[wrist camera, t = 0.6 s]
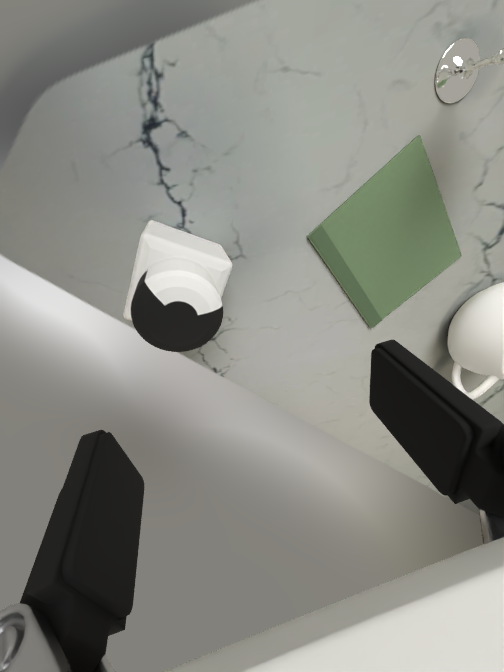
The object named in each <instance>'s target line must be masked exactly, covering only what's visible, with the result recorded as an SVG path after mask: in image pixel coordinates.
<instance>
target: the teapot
mask: <svg viewBox="0 0 504 672" xmlns="http://www.w3.org/2000/svg"><path fill="white" fill-rule="evenodd" d="M448 349H449V353H450V355H451V357H452V358H453V360H454V361H455V362H454V366H453V370H452V383H453V385H454V386H455V387H456V388H458V389H459V390H460V391H462V392H463V393H464V394H465V395H467V396H468V397H469V398H471V399H475V398H477V397H479V396H480V395H482V394H483V393H484V392H486V391H487V390H488V389H489V388H490V387H491V386H492V385H493V384H494V383H495V382H496V381H497V380H499V379H503V380H504V282H502V283H499V284H496V285H493V286H491V287H489V288H487V289H485V290H483V291H480V292H479V293H477V294H475V295H474V296H472V297H471V298H470V299H469V300H467V301H466V302H465V303H464V304H463V305H462V306H461V307H460V309H459V310H458V311H457V313H456V314H455V316H454V317H453V319H452V321H451V324H450V326H449V330H448ZM462 367H463V368H465V369H467V370H469V371H472V372H475V373H478V374H481V375H484V376H488V378H487V379H486V380H485V381H484V382H483V383H481V384H480V385H479V386H478V387H477V388H476V389H474V390H473V391H471V392H466V391H465V389H464V388H463V386H462V383H461V379H460V374H461V368H462Z"/></svg>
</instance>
